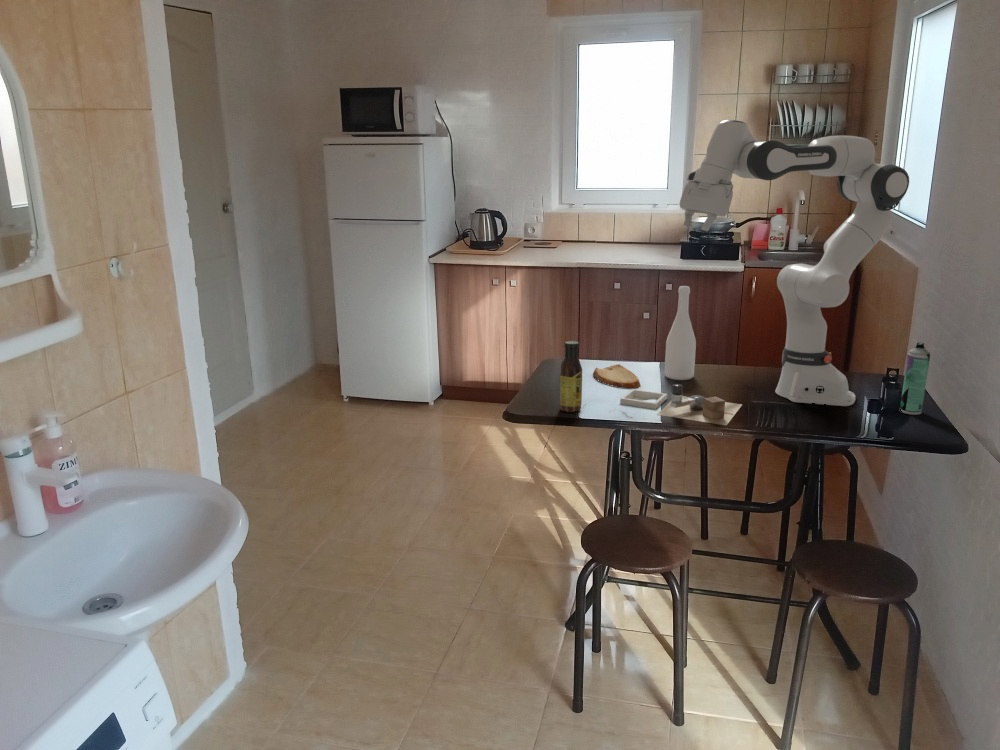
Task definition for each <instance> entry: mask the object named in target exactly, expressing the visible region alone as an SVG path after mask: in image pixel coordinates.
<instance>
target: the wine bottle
mask: <svg viewBox="0 0 1000 750" xmlns="http://www.w3.org/2000/svg"><path fill="white" fill-rule="evenodd" d="M677 291H678V301H677V302H678V303H677V311H676V315H675V318H674V320H673V323H672V325H671V328H670V330H669V332H668V335H667V338H666V342H665V357H664V371H663V372H664V376H665V377H666V378H667V379H671V380H674V381H687V380H691V379H693V378H694V375H695V366H696V365H695V364H696V363H695V362H696V351H697V350H696V347H697V341H696V340H697V339H696V336H695V333H694V329H693V324H692V321H691V319H690V318H691V317H690V313H689V309H690V308H689V306H690V305H689V304H690V294H691V288H690V286H688V285H680V286H679V288H678V289H677Z"/></svg>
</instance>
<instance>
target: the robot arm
mask: <svg viewBox="0 0 1000 750" xmlns="http://www.w3.org/2000/svg"><path fill="white" fill-rule="evenodd" d="M875 158H876V148H875V145H874V143H873V142H872V141H871V140H870V139H868V138H866V137H861V136H856V135H844V134H843V135H828V136H823V137H822V136H821V137H817V138H816V139H813V140H812V141H811V142H810V143H809V144H808V145H806V146H790V145H787V144H785V143H783V142H781V141H778V140H766V141H765V140H764V141H759V140H757V138H755V136H753V134H752V132H751V131H750V129H749V126H748V124H747V123H746V122H744V121H741V120H736V119H735V120H734V119H732V120H731V119H724V120H721V121H719V123H717V125H716V126H715V129H714V130H713V133H712V135H711V137H710V139H709V142H708V144H707V147H706V153H705V157H704V159H703V160H702V162H701V164H700V167H699V168H697V169H695V170H694V171H691V172H689V174H688V175H687V176H686V182H687V183H686V184H685V186H684V188H683V191H682V193H681V197H680V201H679V207H680V209H683V210H685V211H684V221H683V223H682V224H683V226H684V227H686V228H691V227H692V224H693V223H694V222H693V221H692V220H693V216H694V214H695V213H699V214H706V217H707V218H706V219H705V221H704V222H702V223H701V226H700V230H702V231H704V232H708V231H709V230H710V229H711V226H712V225H713V224H714V223H715V221H716V220H717V217H723V218H724V217H726V216H727V214H728V212H729V211H730V207H731V203H732V200H733V197H734V192H733V189H734V184H733V182H732V181H731V179H732V177H733V174H734V175H736V176H737V177H740V178H743V179H751V180H753V179H754V180H763V181H774V180H777V179H779V178H781V177H783V176H785V175H786V174H788V173H792V172H805V171H807V172H808V173H809V174H810V175H812V176H818V177H837V180H836V190H837V192H838V195H839V196H840V197H841V198H843V199H845V200H846V201H850V202H852V203H856V206H855V208H854V210H853V212H852V213H851V214H850V215H849V216H848V218H846V219H845V221H843V223H842V224H840V226H839V227H838V228H837V229H835V231H834V232H833V233H832V234H831V235H830V237H829V238H828V239H827V240H826V241H825V242H824V244H823V255H822V257H821V259H820V261H819V262H818V263H817V264H816V265H813V264H807V263H794V264H792V263H791V264H787V265H786V266H784V267H783V268H782V269H781V270H780V271H779V272H778V275H777V278H776V286H777V289H778V291H779V292H780V294H781V296H782V299H783V302H784V307H785V314H786V315H785V316H786V335H785V336H786V338H785V346H784V348H783V350H782V356H781V364H782V368H781V373H780V377H779V381H778V383H777V386H776V388H775V390H774V391H775V394H777V395H778V396H780V397H783V398H785V399H788V400H790V401H791V402H792V403H804V404H812V403H815V405H824V404H826V406H827V405H828V406H840V407H849V406H852V405H854V404H855V402H856V395H855V393H854V392H852V391H850V390H849V383H848V379H847V377H846V375H845V374H843V373H842V372H841V371H840V369H839V370H838V369H837V368H836V367H835V366H834V365H833V364H832V362H831V361H832V360H833V358H832V352H831V351H830V352H829V351H827V350H826V343H827V333H828V324H827V321H826V320H825V318H824V317H823V313H822V310H821V308H836V307H838V306H841V305H842V304H843V303H844V302H845V301H846V300H847V298H848V296H849V294H850V283H849V282H850V278H851V276H852V275H853V272H854V271H855V270H856V268H857V266H858V265H859V264H860V262H861V261H862V260H864V258H865V257H866V256H867V255H868V254H869V253H870V251H872V249H873V248H874V247H876V245H877V244H878V242H879V241H880V240H882V238H883V236H884V235H885V234H886V232H887V231H888V229H889V228H890V226H891V224H892V222H893V213H892V211H891V210H893V209H895V208H897V207H898V206H899V204H900V201H902V200H903V199H904V197H905V195H906V193H907V192H908V188H909V186H910V175H909V174H908V172H907V171H906V170H905V169H904V168H903V167H901V166H898V165H894V164H885V163H877V162H876V161H875Z"/></svg>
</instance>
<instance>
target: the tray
mask: <svg viewBox="0 0 1000 750" xmlns="http://www.w3.org/2000/svg"><path fill="white" fill-rule="evenodd" d="M648 400H649V401H648ZM651 400H655V401H654V402H651ZM666 400H668V393H663V392H658V391H657V392H656V391H650V390H649V391H648V390H643V389H642V390H641V389H637V388H633V389H631V390H630V391H628V392H626V394H623V396H622V397H620V401H619V402H620V403H619V404H621V405H627V406H634V407H640V408H646V409H647V408H648V409H653V410H657V408H659V407H660V406H661V405H662V404H663V403H664V402H665V401H666Z"/></svg>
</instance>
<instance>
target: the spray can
mask: <svg viewBox="0 0 1000 750" xmlns="http://www.w3.org/2000/svg"><path fill="white" fill-rule="evenodd" d="M930 360H931V352H930V351H929V350H927V349H926V346H925V343H924V342H917V343H916V345H915V346H914V348H911V349H908V353H907V357H906V365H905V369H904V370H905V371H904V379H903V386H902V391H901V392H902V393H901V399H900V405H899V410H900V409H901V411H902V412H901V411H900V412H901V413H904V414H908V415H910V416H911V415H913V416H914V415H915V416H917V415H921V414H922V411H923V410H922V409H923V406H924V405H923V404H924V398H925V391H926V385H927V378H928V372H929V367H930Z"/></svg>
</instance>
